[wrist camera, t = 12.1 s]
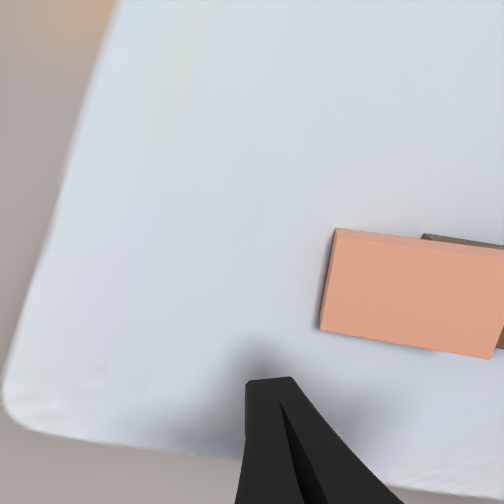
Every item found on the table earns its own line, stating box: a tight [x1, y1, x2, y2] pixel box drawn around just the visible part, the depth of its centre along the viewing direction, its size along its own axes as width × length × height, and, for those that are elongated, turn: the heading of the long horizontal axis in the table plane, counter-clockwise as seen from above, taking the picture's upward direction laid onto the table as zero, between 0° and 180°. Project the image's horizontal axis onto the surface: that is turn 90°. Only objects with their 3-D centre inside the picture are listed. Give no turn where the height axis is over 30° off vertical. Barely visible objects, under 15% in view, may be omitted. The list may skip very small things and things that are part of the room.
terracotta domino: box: [320, 228, 504, 360], centre depth 16 cm, size 2×5×8 cm
